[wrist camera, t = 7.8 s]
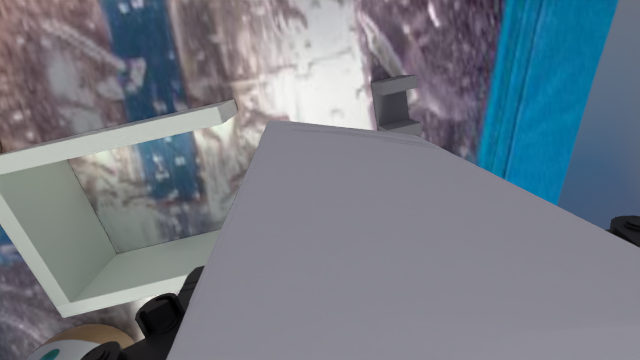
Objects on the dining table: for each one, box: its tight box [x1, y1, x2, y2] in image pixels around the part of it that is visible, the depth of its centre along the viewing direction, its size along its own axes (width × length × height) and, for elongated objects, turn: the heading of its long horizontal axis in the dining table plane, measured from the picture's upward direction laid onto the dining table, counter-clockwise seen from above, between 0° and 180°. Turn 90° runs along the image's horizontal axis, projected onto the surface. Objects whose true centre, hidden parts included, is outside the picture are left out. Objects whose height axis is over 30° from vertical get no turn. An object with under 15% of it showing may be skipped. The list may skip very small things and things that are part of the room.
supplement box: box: [166, 120, 640, 360], centre depth 11 cm, size 9×9×15 cm
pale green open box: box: [0, 99, 238, 318], centre depth 25 cm, size 17×13×7 cm
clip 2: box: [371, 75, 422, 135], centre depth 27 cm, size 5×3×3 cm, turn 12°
